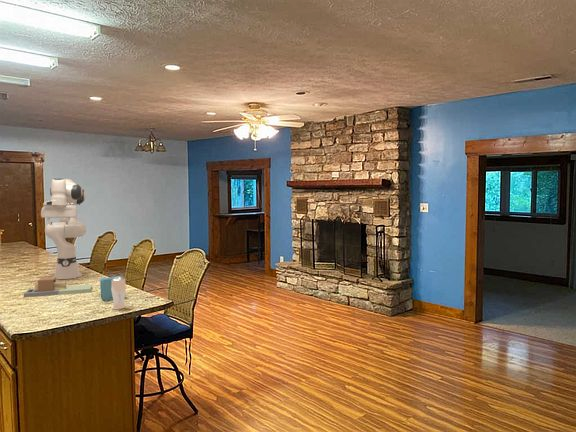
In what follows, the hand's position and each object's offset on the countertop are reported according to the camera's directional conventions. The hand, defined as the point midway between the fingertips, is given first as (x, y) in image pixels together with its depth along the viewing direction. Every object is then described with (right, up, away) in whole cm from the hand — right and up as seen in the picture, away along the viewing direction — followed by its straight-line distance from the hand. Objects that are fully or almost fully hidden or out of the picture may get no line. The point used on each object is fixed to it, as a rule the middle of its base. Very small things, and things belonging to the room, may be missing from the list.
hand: (59, 224), depth 285 cm
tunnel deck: (+9, -40, -17) cm, 44 cm away
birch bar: (+5, -38, -18) cm, 43 cm away
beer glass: (+59, -42, -54) cm, 90 cm away
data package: (+48, -41, -34) cm, 72 cm away
